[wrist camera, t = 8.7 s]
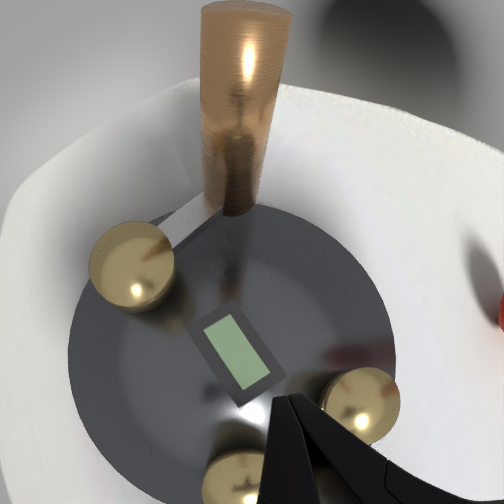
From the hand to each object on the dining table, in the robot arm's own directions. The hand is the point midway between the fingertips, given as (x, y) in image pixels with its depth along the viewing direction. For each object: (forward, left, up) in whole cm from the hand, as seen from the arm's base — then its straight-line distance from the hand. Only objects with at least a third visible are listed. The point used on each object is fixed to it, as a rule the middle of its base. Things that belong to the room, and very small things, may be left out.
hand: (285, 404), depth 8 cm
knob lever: (+10, -2, -8) cm, 13 cm away
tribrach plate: (+3, 0, -9) cm, 9 cm away
